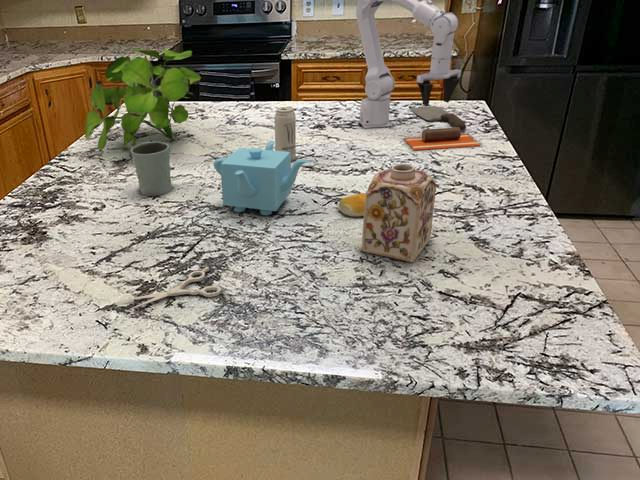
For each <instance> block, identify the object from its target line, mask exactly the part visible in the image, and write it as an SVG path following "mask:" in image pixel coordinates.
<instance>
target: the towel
mask: <svg viewBox="0 0 640 480" xmlns="http://www.w3.org/2000/svg"><path fill="white" fill-rule="evenodd" d="M403 140H404V141H405V143H406V144H407V145H409V146H410V148H411V149H412V150H413V151H415V152H416V151H428V150H429V151H430V150H442V149H444V150H445V149H457V148H470V147H471V148H472V147H481V144H480V143H479V142H478V141H476V140H475V139H473V137H471V136H470V135H469V134H467V133H461V136H460V138H459V139H454V140H440V141H427V142H423V141H422V136H417V137H405V138H403Z"/></svg>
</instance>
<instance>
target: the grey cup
mask: <svg viewBox="0 0 640 480" xmlns="http://www.w3.org/2000/svg"><path fill="white" fill-rule="evenodd" d="M130 154H131V157H132V161H133V165H134V167H135V173H136V177H137V180H138V186H139V190H140V193H141V194H142V195H145V196H149V197H150V196H151V197H153V196H155V197H156V196H163V195H165V194H168V193H169V192H170V191H172V177H171V164H170V162H171V159H170V158H171V157H170V145H169V144H168V143H166V142H163V141H147V142H142V143H138V144H137V145H136V146H134V147H132V146H131V148H130Z"/></svg>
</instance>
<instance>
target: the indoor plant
mask: <svg viewBox="0 0 640 480" xmlns="http://www.w3.org/2000/svg"><path fill="white" fill-rule="evenodd" d="M131 51H134V52H138V53H141V54H144V55H147V56H150V57H151V58H152V57H153V58H156V59H159V60H162V61H163V66H161V65H154V66H153V64H152V63H151V61H150V60H149V58H147V57H142V56H135V58H132V59H131V57H130V56H124V55H122V56H119V57H118V58H116V59H114V60H113V61H112V62H111V63H109V64H108V66H107V67H106V69H105V71H104V73H103V75H104V76H105V78H106V79H107V80H106V82H109V81H111V82H112V83H115V82H116V83H118V82H119V83H120V82H122V83H123V84H124V85H122V86H121V87H120V85H118V86H114V87H107V88H103V82H102V80H101V79H100V80H97V82H95V84H94V87H93V90H92V91H91V94H90V97H89V100H90V105H91V107H92V108H93V109H91V110H88V112H87V116H86V121H85V129H84V138H85V140H86V141H87V140H88V139H89V138H90V137H91V136H92V135H93V134H94V131H95V129H98V128H99V127H100V126H101V125H102V124H103V128H102V131H101V134H100V136H99V138H98V142H97V149H98V150H102V151H103V150H104V149H105V148H106V146H107V143H108V133H109V131H110V130H111V129H112V128H113V127H115V123H116V120H119V119H121V129H122V130H123V140H122V141H123V147H124V148H125V149H127V147H128V145H129V143H130V142H131V143H132V144H131V145H132V146H131V148H132V147H134V146H136V145H138V144H137V139H136V135H137V136H138V133H137V132H138V131H139V129H140V127H141V125H142V123H144V124H145V125H148V126H149V127H152V128H153V129H154V130H157V131H158V132H146V131H145V132H144V131H143V132H140V133H139V135H142V134H149V135H154V134H155V135H160V136H162V137H164V138H167V139H168V140H170V141H174V135H173V131H172V124H171V120H173V123H175V124H182V123H184V122H187V120H188V118H189V111H188V110H187V109H186V108H185V106H184V105H182V104H178V105H177V104H176V105H175V103H176V102H177V101H179V100H180V99H181V98H184V99H190V98H191V96H189V97H187V96H186V95H188V94H189V95H194V93H193V92H189V91H190V89H191V88H190V87H191V84H193V83H195V82H198V81H200V80H201V78H202V76H200V75H199V74H198V73H197V72H195V71H193V70H191V69H188V68H186V67H182V66H180V67H179V68H177V67H172V68H170V69H165V68H166V64H167V62H169V61H178V60H180V61H181V60H183V59H187V58H189V57H192V56H193V54H192V53H193V51H192V50H186V51H183V52H181V53H180V52H176V51H173V50H171V49H170V50H169V49H167V48H162V49H161V52H162V53H164V55H163V56H162V55H161V54H160V53H159V51H156V50H153V49H141V48H132V49H131ZM154 75H156V77H155V78H154V81H153V82H152V80H153V76H154ZM157 80H160V85H154V84H156V82H157ZM126 87H127V88H126ZM154 91H156V92H158V93H159V92H160V95H157V96H156V94H155V92H154ZM122 99H123V101H122ZM170 102H173V103H172V105H171V111H170V108H169V107H170ZM122 104H124V105H125V110H126V113H122V112H120V109H121V107H122ZM107 106H113V107H114V108H115V109H116V111H115V113H114V114H113V115H110V116H109V115H108V116H106V107H107ZM95 109H96V110H95ZM100 113H102V117H101V115H100ZM119 114H120V115H122V116H118V115H119ZM148 116H149V120H146V118H147V117H148ZM169 116H170V117H169Z"/></svg>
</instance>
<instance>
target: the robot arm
mask: <svg viewBox="0 0 640 480" xmlns="http://www.w3.org/2000/svg"><path fill="white" fill-rule="evenodd" d="M384 2H392V3H394V4H397V5H398V6H400V7H402V8H403V9H405V10H407V11H409V12H410V13H412V18H413V19H414V20H415V21H416V22H418V23H420V24H422V25H423V26H425V27H427V28H428V29H430V30H431V33H432V35H433V39H432V40H433V41H432V49H431V58H430V68H429V72H426V73H422V74H418V75H417V76H416V83H417V87H418V88H419V89H418V90H419V92H420V95H421V101H422V102H421V103H422V105H423V106H424V107H427V106H430V99H431V93H432V89H433V87H434V84H433V83H431V81H433V82H434V81H439V80H440V81H441V80H443V97H442V100H443V102H444V103H447V104H448V103H450V102H451V101H450V100H451V98H452V96H453V93H454V92H455V89H456V88H457V86H458V85H459V83H460V80H461V79H460V78H461V77H462V70H460V69H451V62H452V54H453V46H454V37H455V32H456V31H457V29H458V27H459V19H458V17H457V15H455V13H454V12H446V9H444V8H442V9H441V8H439V7H437V6H436V5H434V4H433V0H421V1H419V0H357V3H356V10H355V17H356V22H357V24H358V30H359V34H360V39H361V44H362V48H363V53H364V57H365V62H366V67H367V72H366V75H365V76H364V80H365V86H364V91H365V94H366V98H362V99H361V100H360V107H359V108H360V110H359V120H358V121H359V123H360V124H361V126H362V128H363V129H370V128H371V129H372V128H385V127H386V128H387V127H393V124H392V123H391V122H390V120H389V119H390V107H391V94H392V92H393V91H394V89H395V86H396V82H395V78H394V77H393V76H392V74H391V69H390V68H389V67H388V66H387V65H386V64H385V60H384V55H383V51H382V46H381V45H382V44H381V41H380V35H379V31H378V26H377V21H376V17H375V14H376V13H377V11H378V9H379V8H380V6H381V5H382V4H383V3H384Z"/></svg>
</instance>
